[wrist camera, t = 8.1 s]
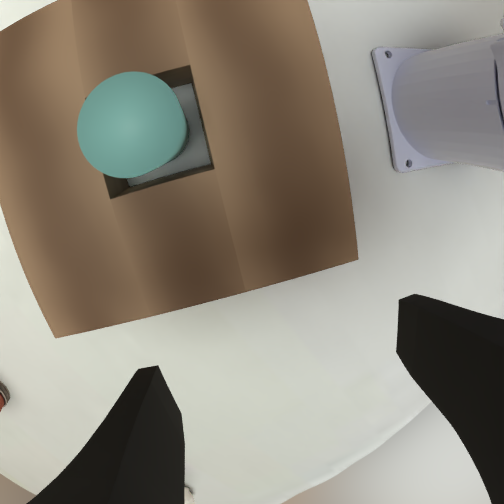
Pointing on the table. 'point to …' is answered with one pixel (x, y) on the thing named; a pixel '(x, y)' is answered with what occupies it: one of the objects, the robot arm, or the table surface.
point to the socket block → (180, 184)
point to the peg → (131, 125)
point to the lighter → (3, 395)
